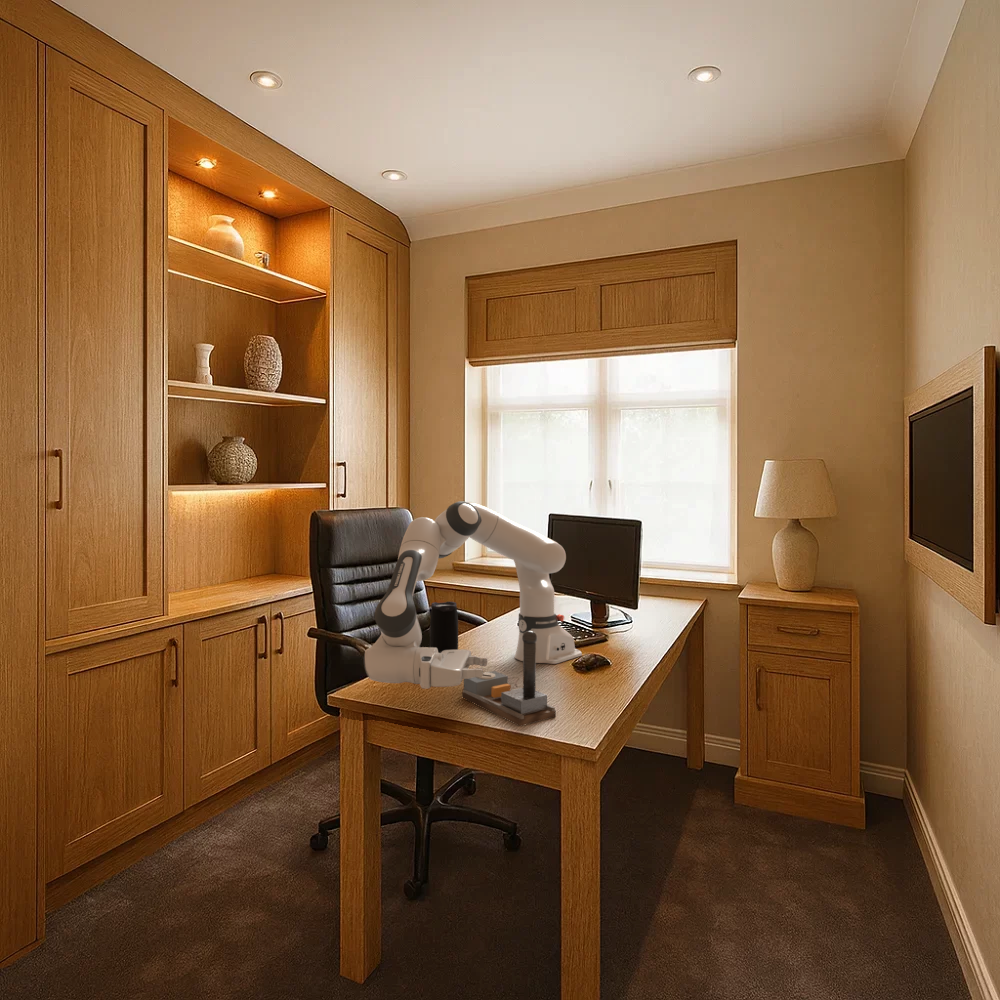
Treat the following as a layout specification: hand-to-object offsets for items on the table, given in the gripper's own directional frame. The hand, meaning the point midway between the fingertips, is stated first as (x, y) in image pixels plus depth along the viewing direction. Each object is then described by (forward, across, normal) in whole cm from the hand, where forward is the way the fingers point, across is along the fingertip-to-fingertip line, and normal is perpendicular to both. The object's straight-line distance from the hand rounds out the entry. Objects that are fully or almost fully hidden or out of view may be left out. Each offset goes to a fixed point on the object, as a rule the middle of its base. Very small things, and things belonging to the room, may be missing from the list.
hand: (485, 667), depth 170 cm
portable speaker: (-17, -41, -12) cm, 46 cm away
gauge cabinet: (-1, -14, -10) cm, 18 cm away
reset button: (+3, -9, -10) cm, 14 cm away
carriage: (+9, -2, -10) cm, 14 cm away
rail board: (+5, -7, -12) cm, 15 cm away
